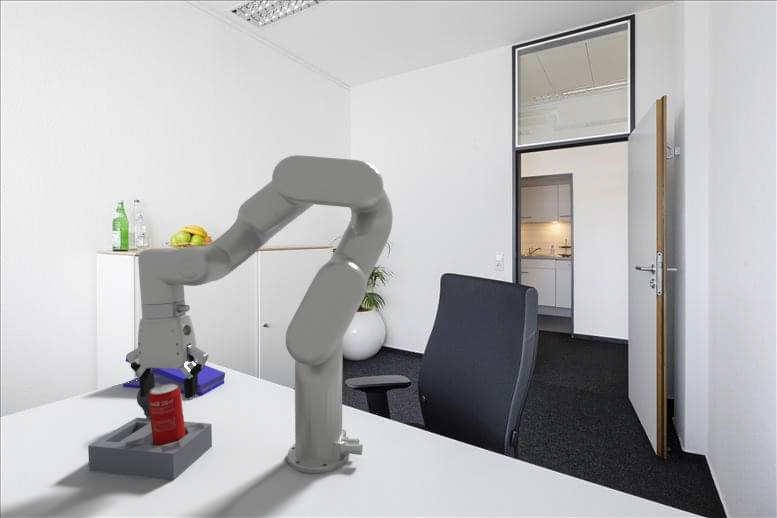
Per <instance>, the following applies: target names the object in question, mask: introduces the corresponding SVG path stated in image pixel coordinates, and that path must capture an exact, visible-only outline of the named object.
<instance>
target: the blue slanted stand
mask: <svg viewBox="0 0 777 518" xmlns="http://www.w3.org/2000/svg"><path fill="white" fill-rule="evenodd" d="M138 360H139V359H138ZM125 362H126V363H129V361H128V359H127V357H126V356H125ZM194 363H195V364H197V361H195V362H194ZM187 367H188V366H187ZM188 368H189V367H188ZM189 369H190V368H189ZM190 370H191V369H190ZM151 372H153V374H154V383H159V384H161V385H163V384H168V383H175V384H178V387H179V389H180V390H181V394H183V395H185V393H184V379H185V378H187V377H186V376H185V375H184V373H183V372H182V371H181V370H180V369H152V370H151ZM151 372H150V373H151ZM197 376H198V392H197V394H195V395H194V396H204V395H206V394H208V393H210V392H211V391H214V390H215V389H217V388H219V387H220V386H222V385H224V384H225V378H226V372H224V371H222V370H219V369H216V368H213V367H211V366H209V365H206V364H205V367H204V368H203V369H202V370H201V371H200V373H199V374H198V375H197ZM136 380H137V381H136ZM128 382H129V383H128ZM123 387H124V388H131V389H139V390H140V382H139V377H136V378H133V379H131V380H129V381H126V382H124V384H123V383H122V388H123Z"/></svg>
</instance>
